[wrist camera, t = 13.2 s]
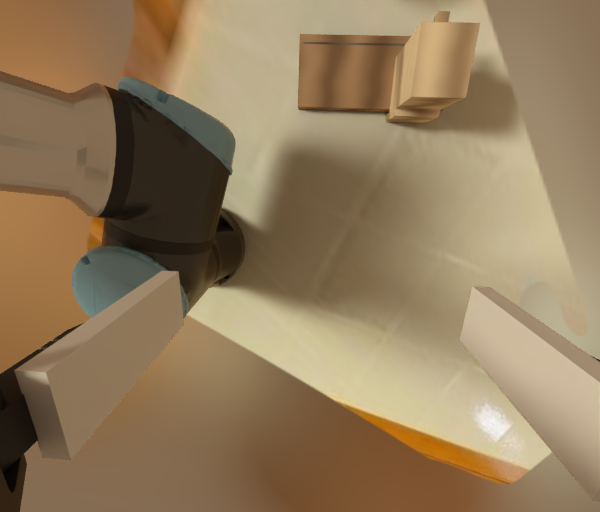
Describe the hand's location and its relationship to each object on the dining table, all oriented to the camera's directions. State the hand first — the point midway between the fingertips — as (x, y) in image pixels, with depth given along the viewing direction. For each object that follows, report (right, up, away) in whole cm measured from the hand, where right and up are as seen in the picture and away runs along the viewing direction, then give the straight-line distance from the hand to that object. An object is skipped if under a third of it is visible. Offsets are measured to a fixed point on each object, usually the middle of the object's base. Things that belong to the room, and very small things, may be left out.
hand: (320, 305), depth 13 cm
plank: (+10, +29, +29) cm, 42 cm away
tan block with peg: (+15, +27, +29) cm, 43 cm away
